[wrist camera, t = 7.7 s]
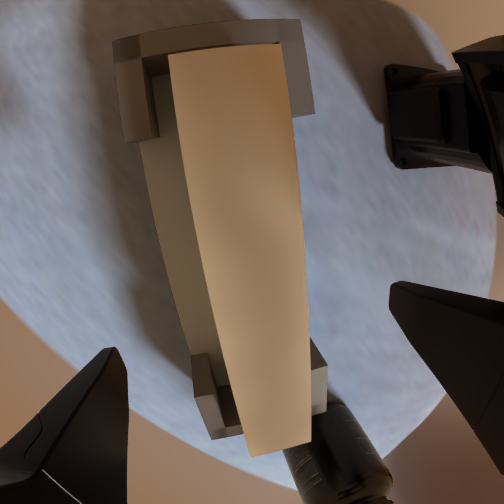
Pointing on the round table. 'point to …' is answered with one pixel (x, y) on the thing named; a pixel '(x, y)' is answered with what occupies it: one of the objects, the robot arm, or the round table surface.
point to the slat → (249, 231)
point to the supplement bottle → (338, 462)
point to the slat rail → (176, 191)
